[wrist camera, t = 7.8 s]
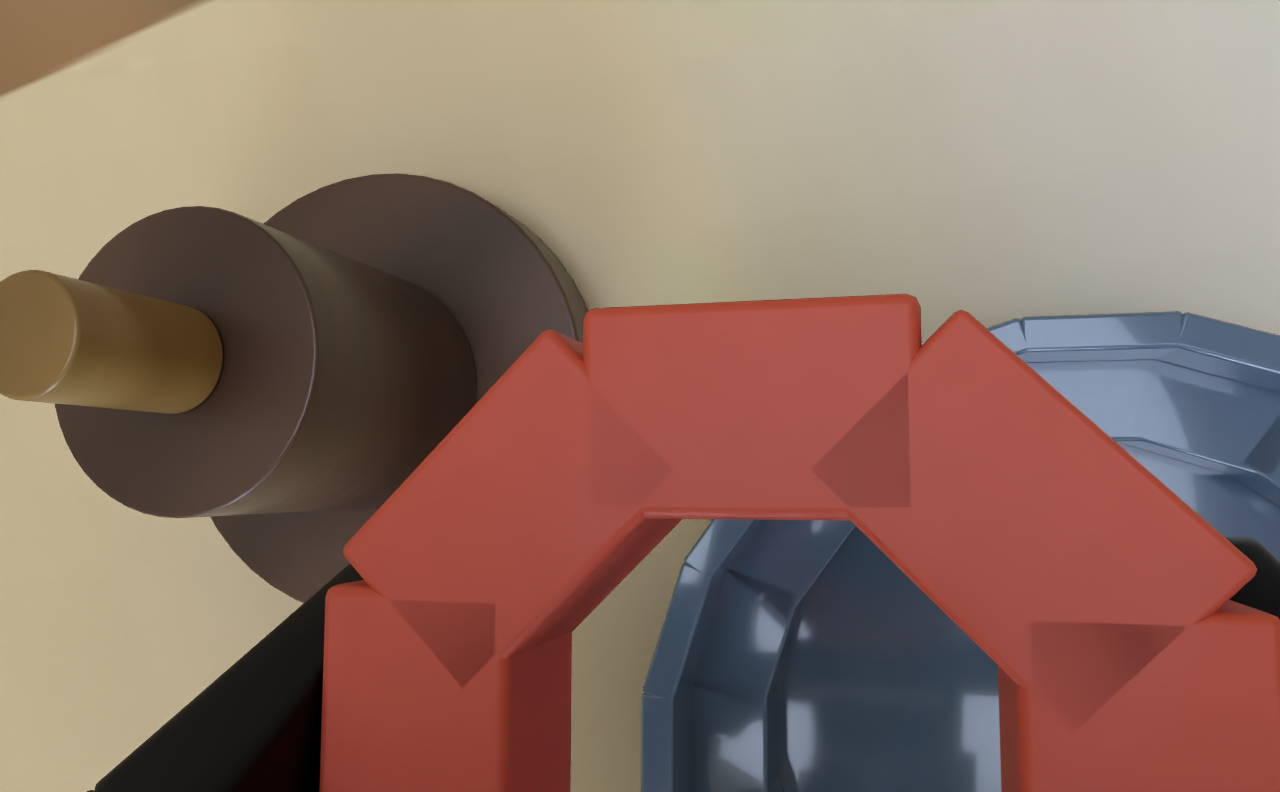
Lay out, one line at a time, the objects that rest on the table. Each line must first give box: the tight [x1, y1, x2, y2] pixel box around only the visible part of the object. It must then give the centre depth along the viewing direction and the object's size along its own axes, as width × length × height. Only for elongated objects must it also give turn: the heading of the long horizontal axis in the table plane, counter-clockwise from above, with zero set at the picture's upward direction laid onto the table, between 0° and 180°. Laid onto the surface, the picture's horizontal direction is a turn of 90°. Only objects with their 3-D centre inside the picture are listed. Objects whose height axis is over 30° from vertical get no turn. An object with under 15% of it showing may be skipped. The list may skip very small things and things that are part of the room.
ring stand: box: [0, 174, 588, 603], centre depth 19 cm, size 10×10×11 cm
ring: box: [319, 294, 1280, 792], centre depth 8 cm, size 7×7×2 cm
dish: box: [641, 311, 1280, 792], centre depth 18 cm, size 16×16×4 cm
